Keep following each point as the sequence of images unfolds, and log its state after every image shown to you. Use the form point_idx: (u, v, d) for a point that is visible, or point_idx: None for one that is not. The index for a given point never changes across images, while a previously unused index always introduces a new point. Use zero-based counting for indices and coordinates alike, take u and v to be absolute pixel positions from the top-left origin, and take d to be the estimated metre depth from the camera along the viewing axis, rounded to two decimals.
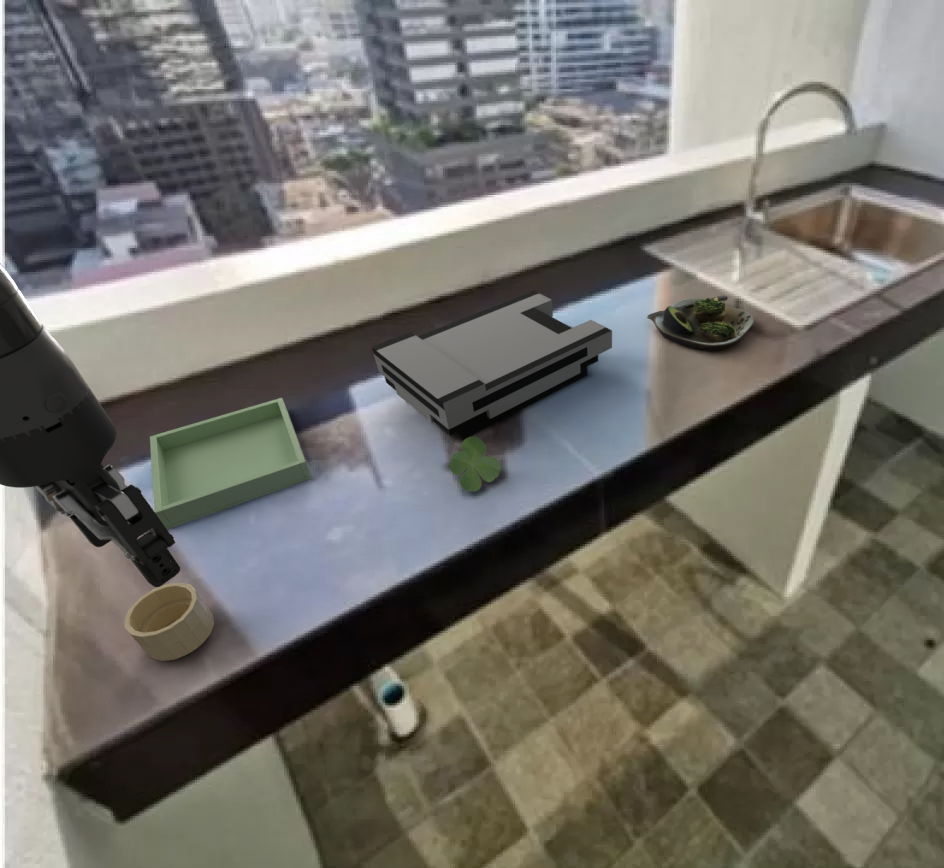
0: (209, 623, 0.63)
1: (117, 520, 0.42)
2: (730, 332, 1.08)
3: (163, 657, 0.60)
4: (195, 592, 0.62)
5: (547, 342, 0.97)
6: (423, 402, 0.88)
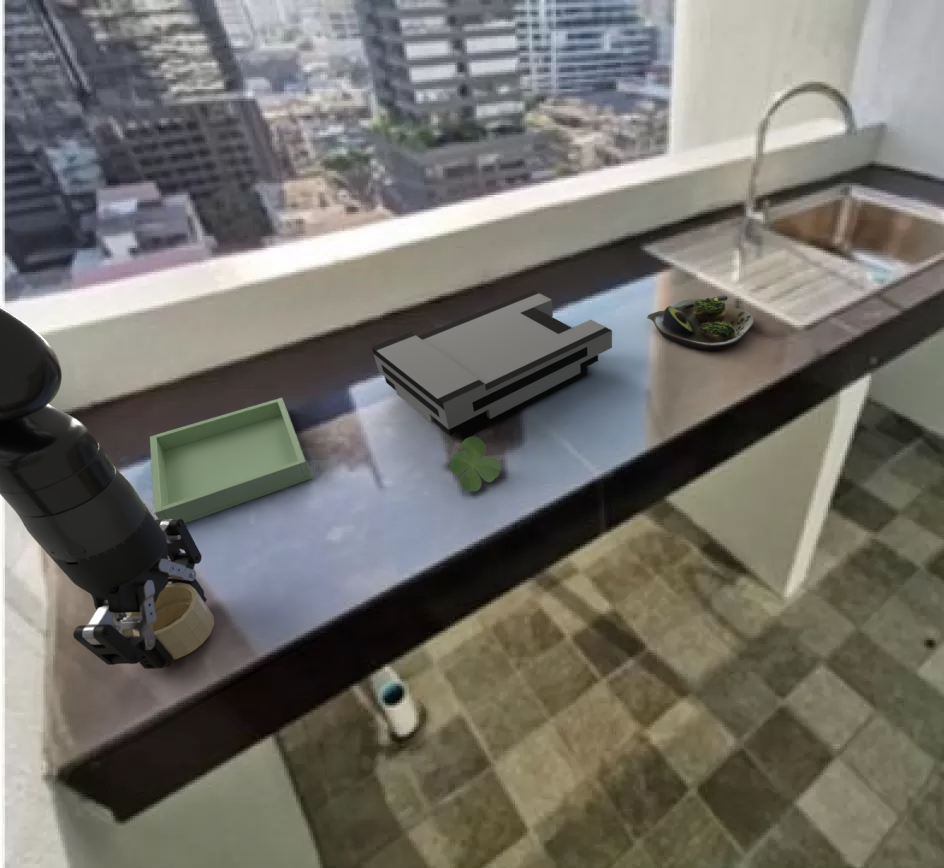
0: (209, 623, 0.63)
1: (84, 643, 0.52)
2: (730, 332, 1.08)
3: None
4: (195, 592, 0.62)
5: (547, 342, 0.97)
6: (423, 402, 0.88)
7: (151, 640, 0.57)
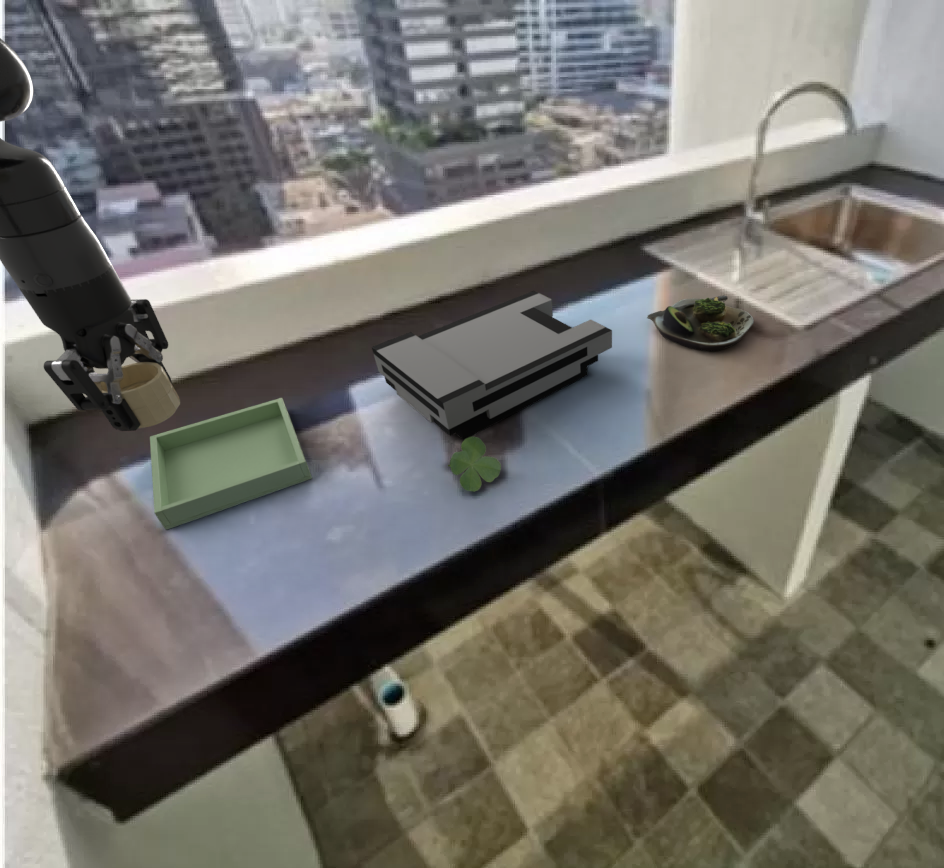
0: (175, 400, 0.68)
1: (53, 377, 0.57)
2: (730, 332, 1.08)
3: None
4: (161, 368, 0.67)
5: (547, 342, 0.97)
6: (423, 402, 0.88)
7: (118, 395, 0.62)
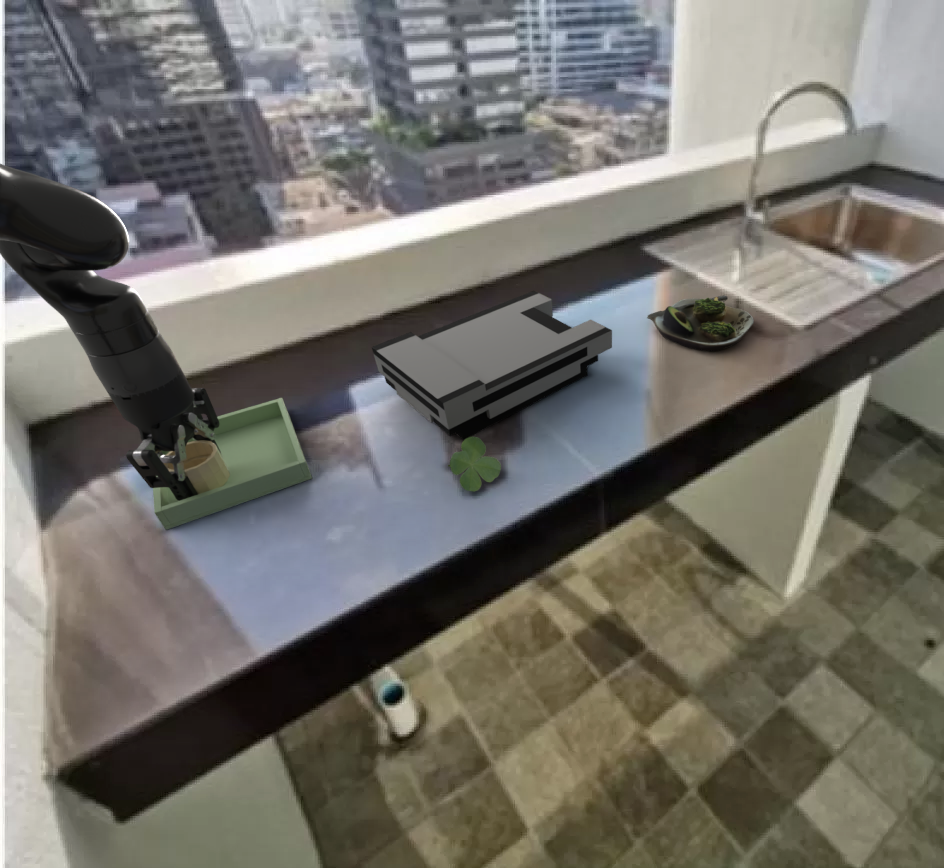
0: (226, 472, 0.80)
1: (133, 463, 0.69)
2: (730, 332, 1.08)
3: None
4: (215, 446, 0.79)
5: (547, 342, 0.97)
6: (423, 402, 0.88)
7: (182, 474, 0.74)
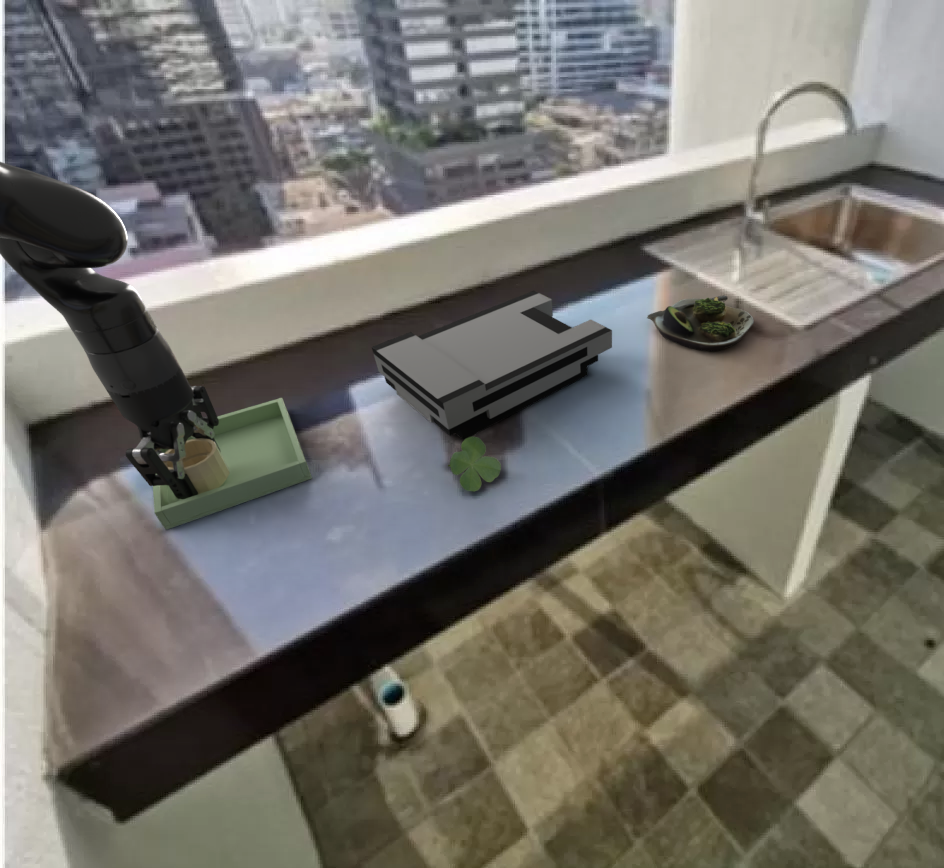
0: (225, 470, 0.80)
1: (133, 461, 0.69)
2: (730, 332, 1.08)
3: None
4: (215, 444, 0.79)
5: (547, 342, 0.97)
6: (423, 402, 0.88)
7: (182, 472, 0.74)
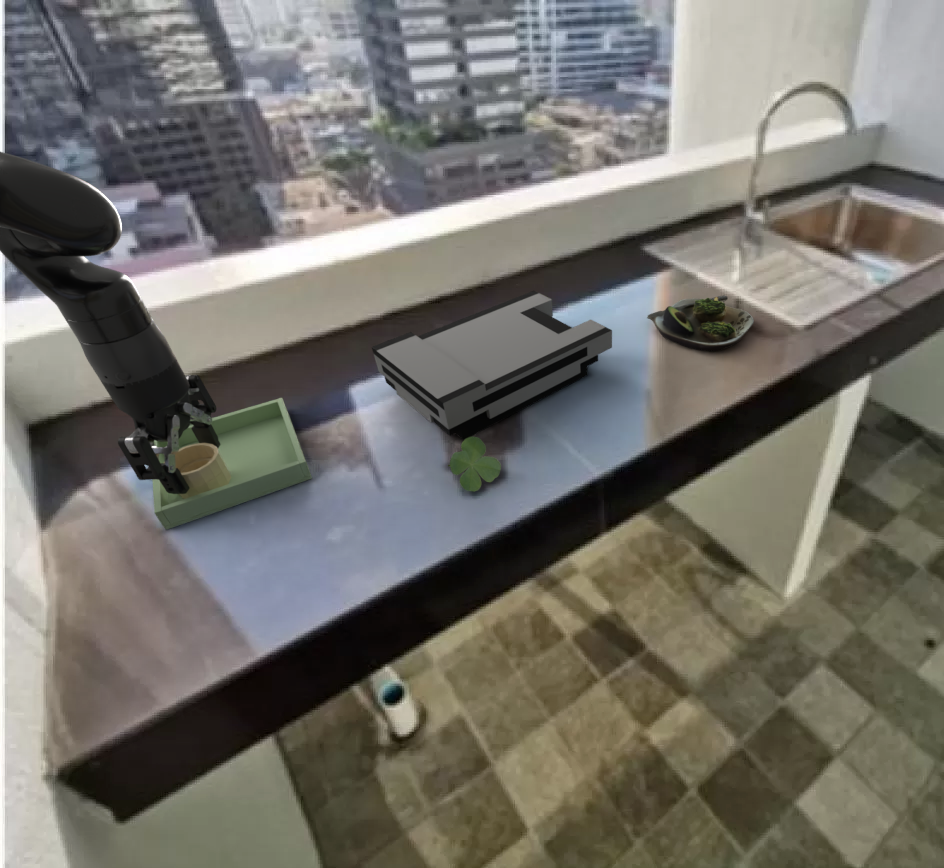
0: (227, 475, 0.80)
1: (124, 450, 0.68)
2: (730, 332, 1.08)
3: None
4: (217, 448, 0.79)
5: (547, 342, 0.97)
6: (423, 402, 0.88)
7: (172, 465, 0.72)
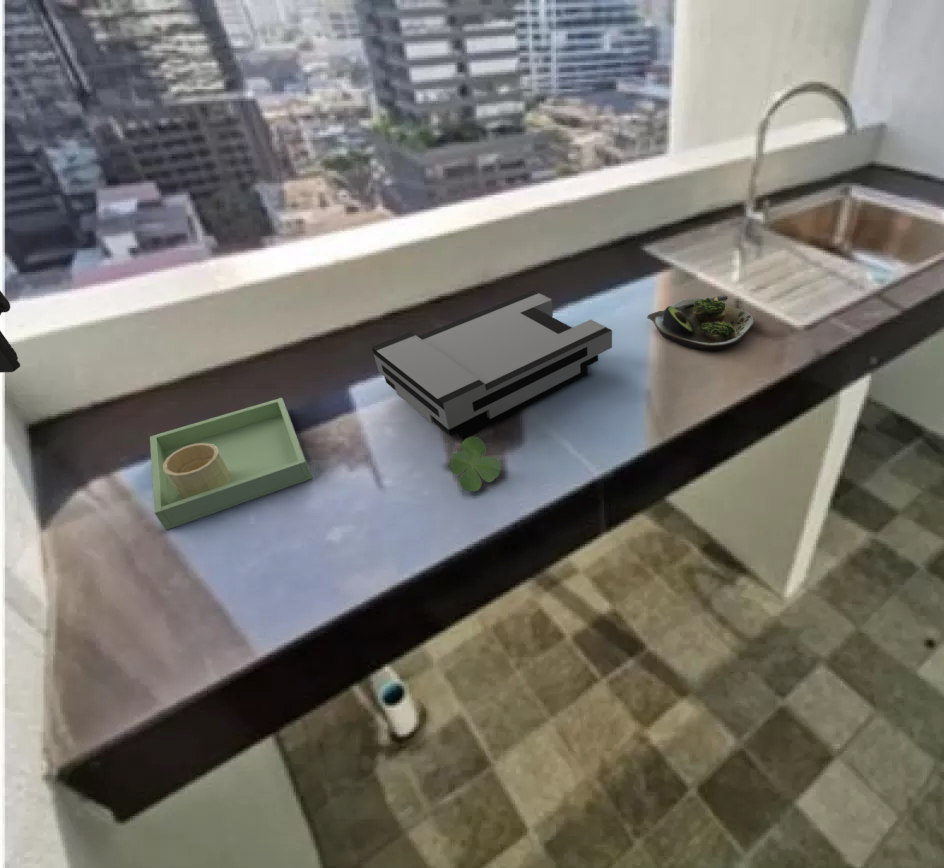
0: (227, 475, 0.80)
1: None
2: (730, 332, 1.08)
3: None
4: (217, 448, 0.79)
5: (547, 342, 0.97)
6: (423, 402, 0.88)
7: None
